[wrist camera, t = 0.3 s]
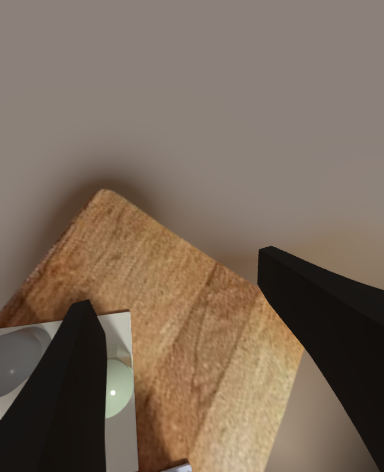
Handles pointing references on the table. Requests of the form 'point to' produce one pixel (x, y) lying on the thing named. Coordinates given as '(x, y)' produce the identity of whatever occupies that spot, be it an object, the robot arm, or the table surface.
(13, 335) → the grey pillar candle
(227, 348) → the table surface
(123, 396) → the sage cup
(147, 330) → the table surface
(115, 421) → the grey mat
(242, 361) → the table surface
